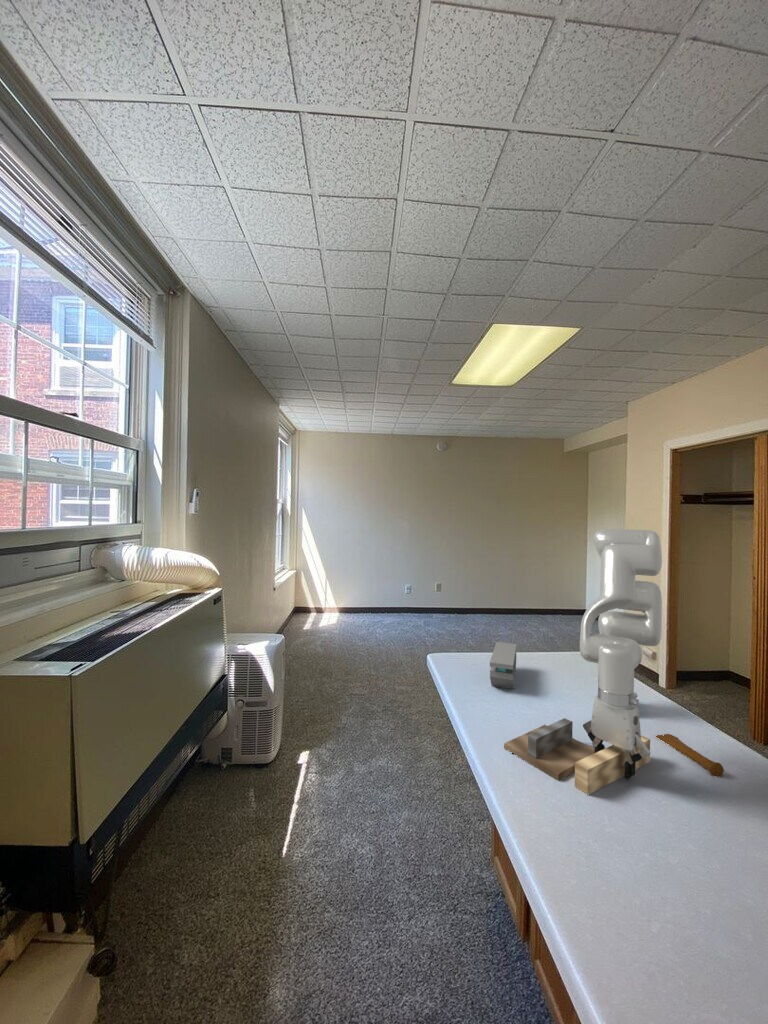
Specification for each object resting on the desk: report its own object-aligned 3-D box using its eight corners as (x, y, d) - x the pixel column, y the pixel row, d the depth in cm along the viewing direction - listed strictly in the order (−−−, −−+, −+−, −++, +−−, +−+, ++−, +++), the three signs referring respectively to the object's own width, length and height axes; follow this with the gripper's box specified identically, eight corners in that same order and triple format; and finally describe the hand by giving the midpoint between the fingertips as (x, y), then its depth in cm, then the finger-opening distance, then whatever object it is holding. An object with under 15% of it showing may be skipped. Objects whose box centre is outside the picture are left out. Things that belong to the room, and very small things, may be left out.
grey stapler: (496, 668, 171) (496, 641, 171) (516, 671, 169) (516, 644, 169) (489, 693, 148) (489, 662, 148) (512, 696, 145) (513, 665, 145)
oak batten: (637, 756, 111) (637, 733, 111) (649, 762, 108) (650, 739, 108) (574, 788, 98) (574, 762, 98) (587, 796, 95) (587, 769, 95)
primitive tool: (652, 736, 121) (653, 724, 121) (670, 736, 122) (670, 723, 122) (712, 779, 102) (712, 765, 102) (732, 778, 103) (733, 764, 103)
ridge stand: (544, 729, 123) (545, 707, 123) (598, 756, 110) (599, 731, 110) (504, 748, 113) (504, 724, 113) (558, 780, 100) (558, 753, 100)
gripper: (661, 706, 98) (660, 783, 98) (589, 680, 112) (588, 748, 112) (646, 714, 94) (645, 795, 94) (573, 687, 108) (572, 757, 108)
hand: (614, 768), depth 103 cm, fingers open, 6 cm apart
